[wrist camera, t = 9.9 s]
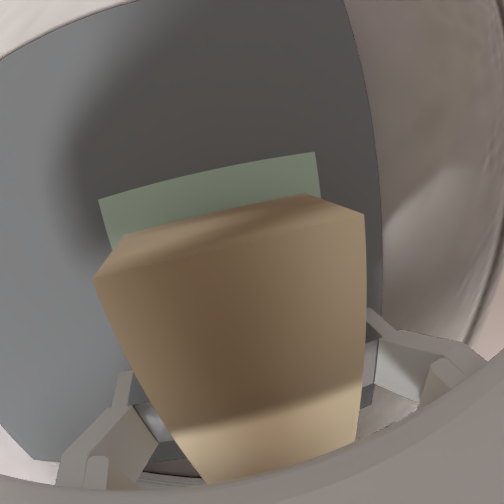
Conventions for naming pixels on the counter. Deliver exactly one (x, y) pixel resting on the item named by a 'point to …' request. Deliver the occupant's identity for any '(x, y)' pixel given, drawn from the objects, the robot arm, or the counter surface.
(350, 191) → the rubber mat
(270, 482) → the robot arm
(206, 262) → the maple card box
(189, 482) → the supplement box
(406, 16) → the counter surface
